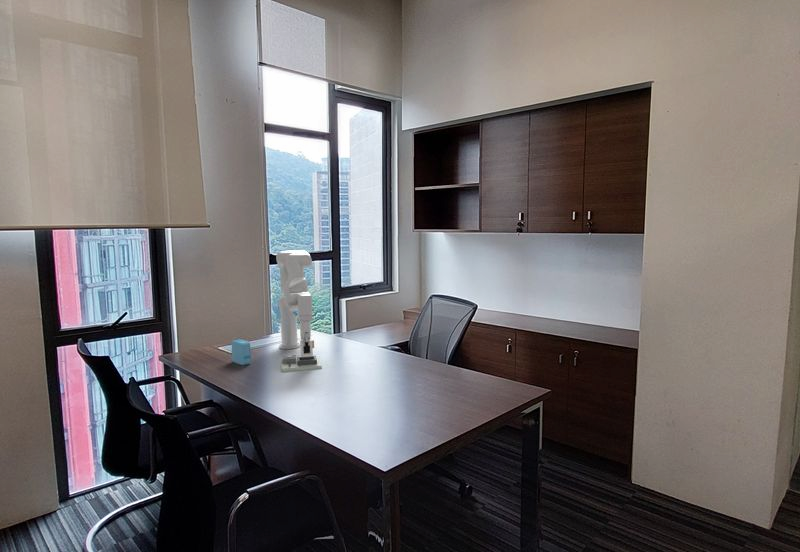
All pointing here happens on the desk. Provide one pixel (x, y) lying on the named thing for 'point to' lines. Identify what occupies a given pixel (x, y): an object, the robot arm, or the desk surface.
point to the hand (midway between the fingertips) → (306, 351)
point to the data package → (241, 352)
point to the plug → (311, 343)
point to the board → (300, 363)
